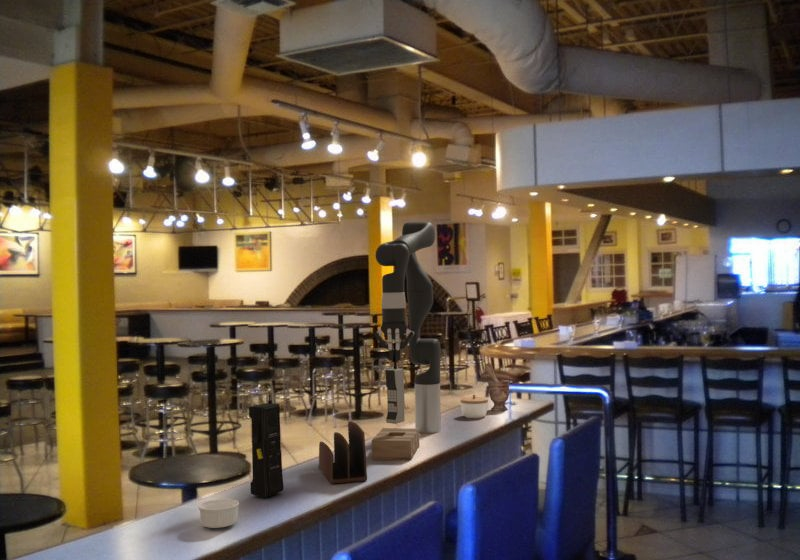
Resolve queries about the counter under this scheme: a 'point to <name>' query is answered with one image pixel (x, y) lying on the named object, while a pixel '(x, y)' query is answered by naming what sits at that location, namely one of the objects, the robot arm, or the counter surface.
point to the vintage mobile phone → (395, 393)
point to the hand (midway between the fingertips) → (394, 361)
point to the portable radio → (266, 449)
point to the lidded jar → (474, 407)
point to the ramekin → (219, 513)
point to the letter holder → (345, 457)
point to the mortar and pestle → (497, 390)
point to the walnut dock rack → (395, 444)
